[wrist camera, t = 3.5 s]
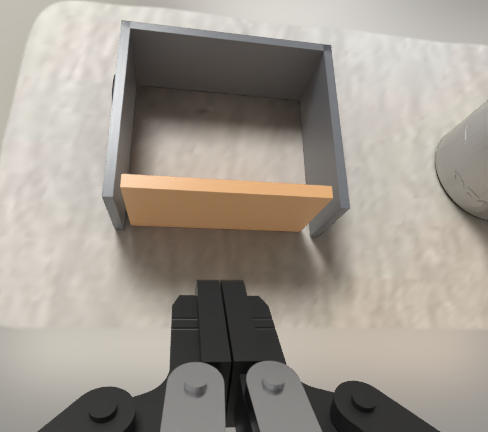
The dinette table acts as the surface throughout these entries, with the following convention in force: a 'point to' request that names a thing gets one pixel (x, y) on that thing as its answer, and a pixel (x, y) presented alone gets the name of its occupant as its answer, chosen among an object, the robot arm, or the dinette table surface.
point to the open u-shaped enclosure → (230, 82)
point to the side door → (221, 203)
